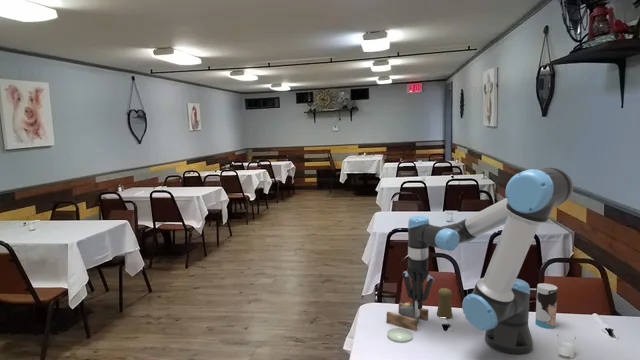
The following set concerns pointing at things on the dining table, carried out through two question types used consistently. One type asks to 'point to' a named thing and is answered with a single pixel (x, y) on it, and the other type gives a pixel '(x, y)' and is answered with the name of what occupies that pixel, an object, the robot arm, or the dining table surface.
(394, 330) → the saucer
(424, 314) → the guide channel
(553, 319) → the cup
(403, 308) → the plug
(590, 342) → the dining table surface
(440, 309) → the cork
